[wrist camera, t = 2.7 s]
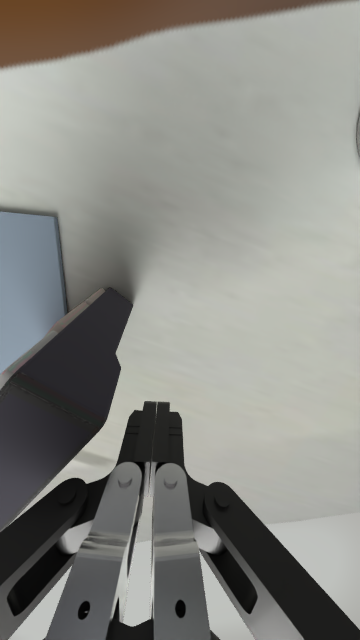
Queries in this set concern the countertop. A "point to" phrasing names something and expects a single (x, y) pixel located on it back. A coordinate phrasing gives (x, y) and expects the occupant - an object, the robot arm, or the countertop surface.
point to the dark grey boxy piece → (58, 398)
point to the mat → (28, 282)
